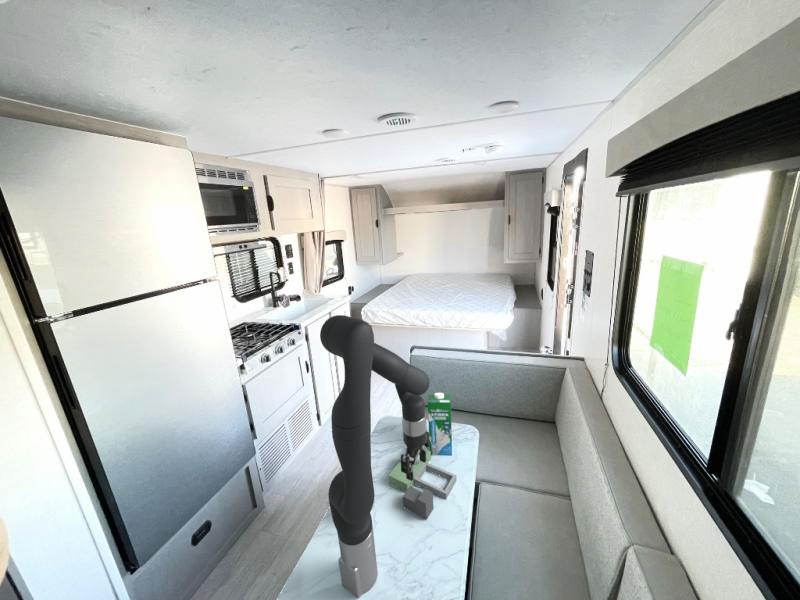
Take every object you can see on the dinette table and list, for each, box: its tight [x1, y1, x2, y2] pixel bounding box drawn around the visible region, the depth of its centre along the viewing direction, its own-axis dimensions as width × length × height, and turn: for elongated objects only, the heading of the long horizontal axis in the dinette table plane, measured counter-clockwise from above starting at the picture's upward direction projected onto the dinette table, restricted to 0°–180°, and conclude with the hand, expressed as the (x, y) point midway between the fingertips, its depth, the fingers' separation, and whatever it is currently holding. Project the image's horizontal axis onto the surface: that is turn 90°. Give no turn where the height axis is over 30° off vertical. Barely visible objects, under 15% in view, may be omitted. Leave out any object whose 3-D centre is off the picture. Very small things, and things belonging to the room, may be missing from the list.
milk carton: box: [427, 392, 453, 456], centre depth 129 cm, size 9×9×25 cm
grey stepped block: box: [402, 486, 434, 521], centre depth 105 cm, size 9×5×7 cm, turn 56°
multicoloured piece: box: [388, 447, 457, 500], centre depth 117 cm, size 18×21×8 cm
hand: (416, 469), depth 102 cm, fingers open, 8 cm apart
